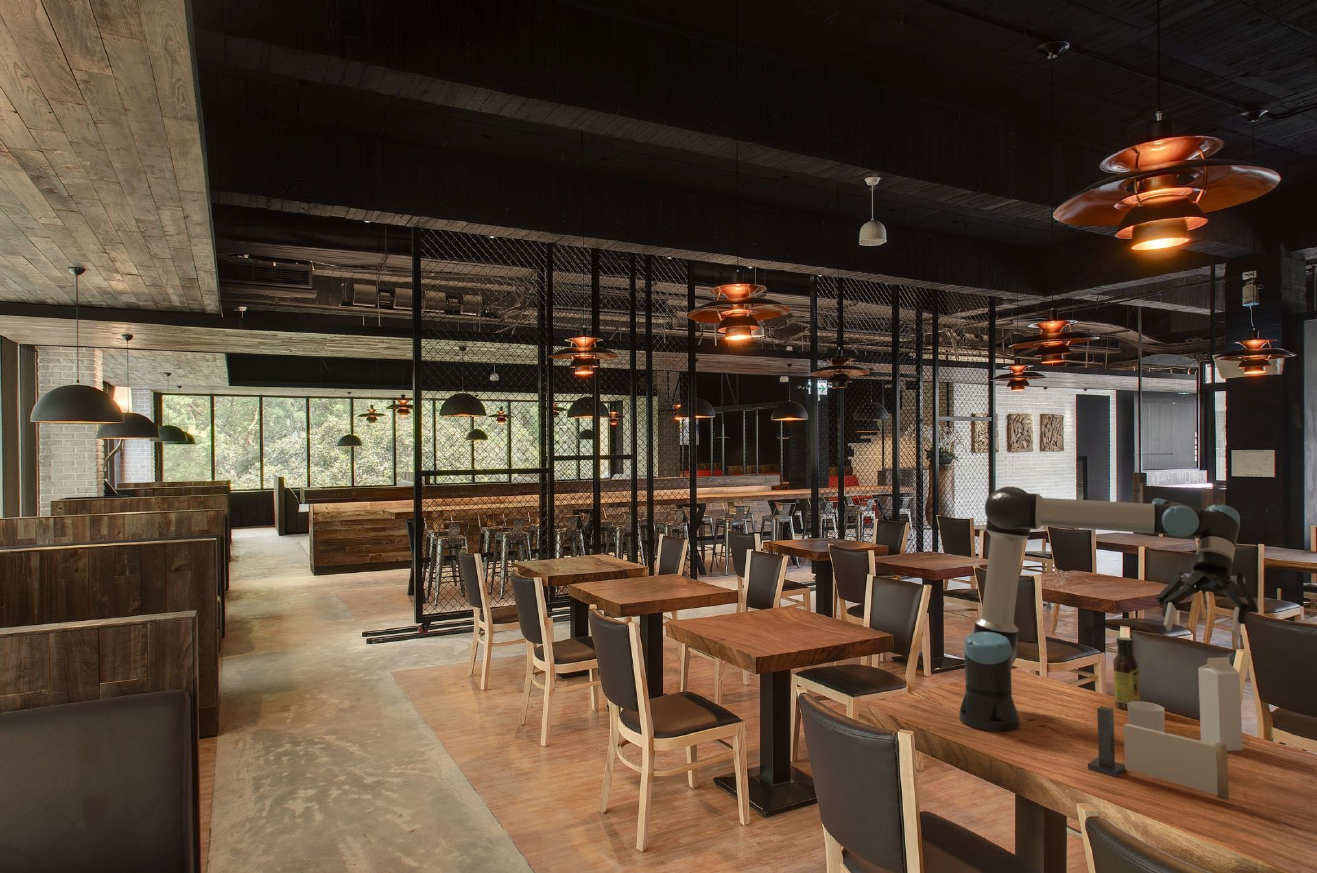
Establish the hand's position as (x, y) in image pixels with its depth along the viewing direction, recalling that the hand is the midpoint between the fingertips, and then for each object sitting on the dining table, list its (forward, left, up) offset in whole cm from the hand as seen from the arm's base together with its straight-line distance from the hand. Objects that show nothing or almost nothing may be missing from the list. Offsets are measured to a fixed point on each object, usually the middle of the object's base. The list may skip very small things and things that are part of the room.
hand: (1199, 631), depth 175 cm
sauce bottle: (-27, +32, -31) cm, 52 cm away
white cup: (-13, +3, -32) cm, 34 cm away
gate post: (-14, -20, -31) cm, 40 cm away
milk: (-1, +17, -31) cm, 36 cm away
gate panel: (0, -20, -30) cm, 36 cm away
